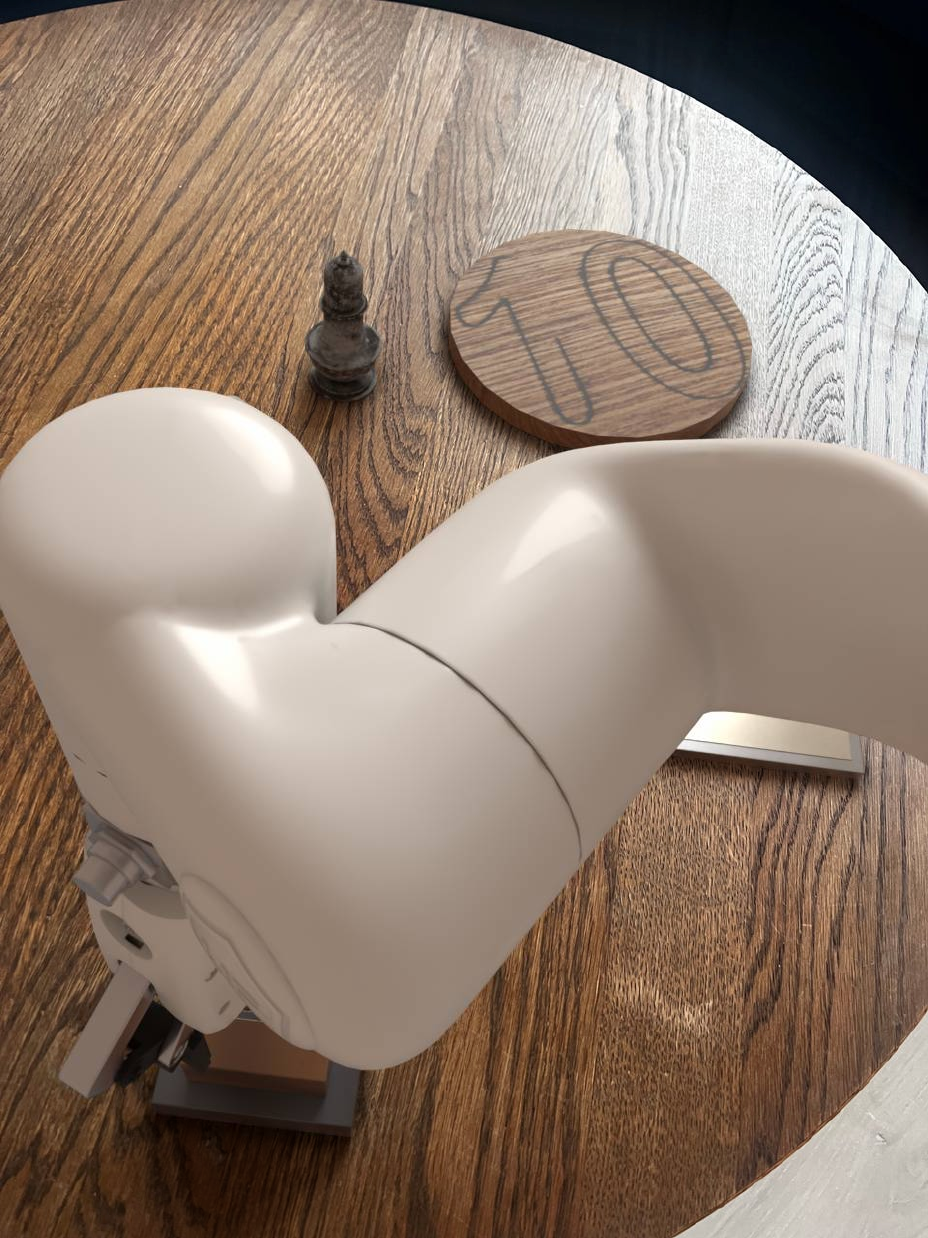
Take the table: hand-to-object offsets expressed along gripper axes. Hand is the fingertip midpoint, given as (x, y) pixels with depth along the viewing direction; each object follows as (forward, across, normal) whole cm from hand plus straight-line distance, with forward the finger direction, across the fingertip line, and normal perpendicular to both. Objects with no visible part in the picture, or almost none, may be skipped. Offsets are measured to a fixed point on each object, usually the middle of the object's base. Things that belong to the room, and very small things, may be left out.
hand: (248, 945), depth 48 cm
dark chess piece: (+16, +44, +24) cm, 53 cm away
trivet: (+16, +60, +9) cm, 62 cm away
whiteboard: (+15, +38, -12) cm, 43 cm away
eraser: (+15, -2, -1) cm, 15 cm away
